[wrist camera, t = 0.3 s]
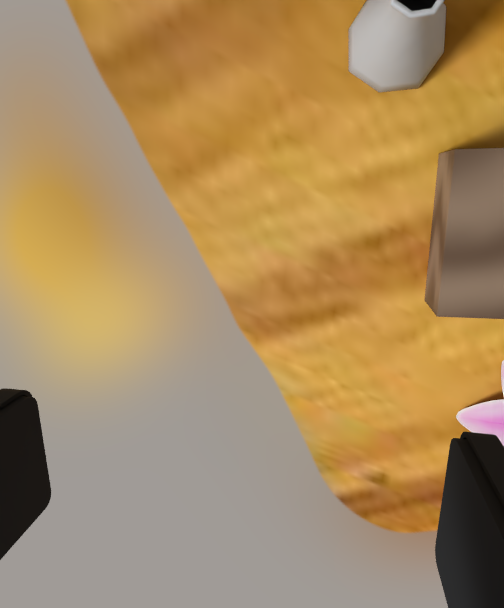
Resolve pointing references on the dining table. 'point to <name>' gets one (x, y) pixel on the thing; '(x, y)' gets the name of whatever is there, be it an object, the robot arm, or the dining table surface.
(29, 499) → the robot arm
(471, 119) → the dining table surface
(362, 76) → the flask
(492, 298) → the walnut block
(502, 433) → the lily
